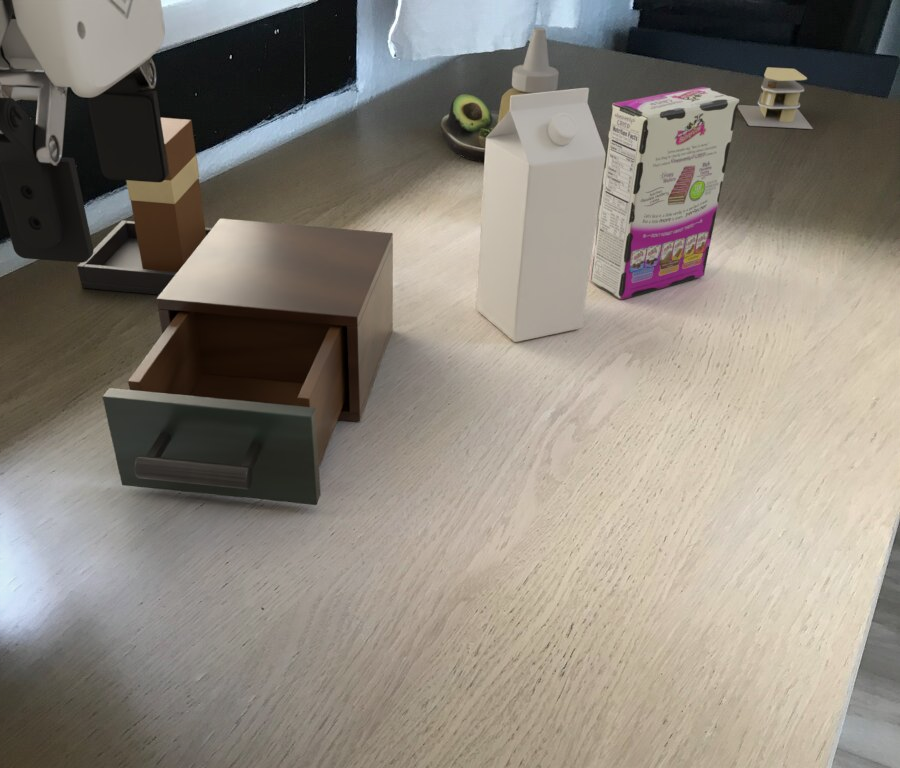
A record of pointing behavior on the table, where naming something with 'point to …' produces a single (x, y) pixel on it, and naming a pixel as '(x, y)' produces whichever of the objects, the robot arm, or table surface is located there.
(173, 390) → the drawer
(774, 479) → the table surface
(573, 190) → the milk carton
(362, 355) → the cabinet
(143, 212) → the block
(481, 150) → the salad plate
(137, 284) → the tray
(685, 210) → the candy bar box
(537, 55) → the squeeze bottle
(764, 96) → the stacked layers on plate
